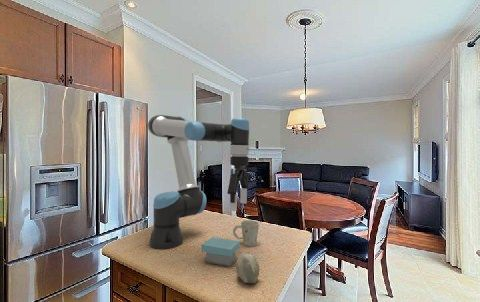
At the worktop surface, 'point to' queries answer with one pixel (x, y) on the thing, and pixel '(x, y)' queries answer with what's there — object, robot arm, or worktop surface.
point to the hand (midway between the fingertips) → (238, 206)
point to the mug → (248, 232)
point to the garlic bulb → (247, 268)
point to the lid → (221, 246)
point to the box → (220, 259)
